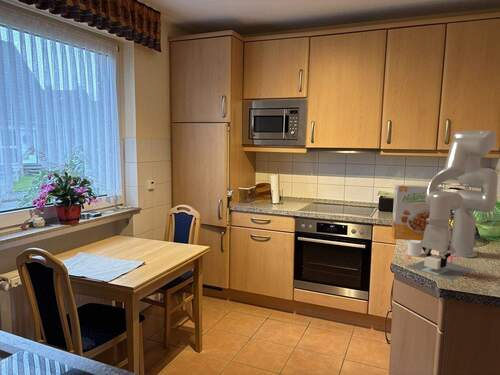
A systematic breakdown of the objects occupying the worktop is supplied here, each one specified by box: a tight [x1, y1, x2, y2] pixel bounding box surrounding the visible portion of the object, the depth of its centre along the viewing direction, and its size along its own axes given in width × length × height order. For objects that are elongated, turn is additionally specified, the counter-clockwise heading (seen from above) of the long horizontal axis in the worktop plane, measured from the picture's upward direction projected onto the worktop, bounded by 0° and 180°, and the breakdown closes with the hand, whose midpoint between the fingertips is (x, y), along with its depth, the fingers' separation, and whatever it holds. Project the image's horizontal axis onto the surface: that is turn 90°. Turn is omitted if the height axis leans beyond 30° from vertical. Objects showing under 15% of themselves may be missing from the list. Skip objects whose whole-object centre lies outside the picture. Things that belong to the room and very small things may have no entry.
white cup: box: [406, 240, 423, 257], centre depth 179 cm, size 7×7×7 cm
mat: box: [406, 259, 476, 281], centre depth 160 cm, size 22×19×1 cm
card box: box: [423, 253, 447, 269], centre depth 157 cm, size 8×6×4 cm
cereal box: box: [391, 184, 442, 241], centre depth 209 cm, size 22×6×30 cm, turn 82°
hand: (435, 264), depth 157 cm, fingers closed on card box, 5 cm apart
